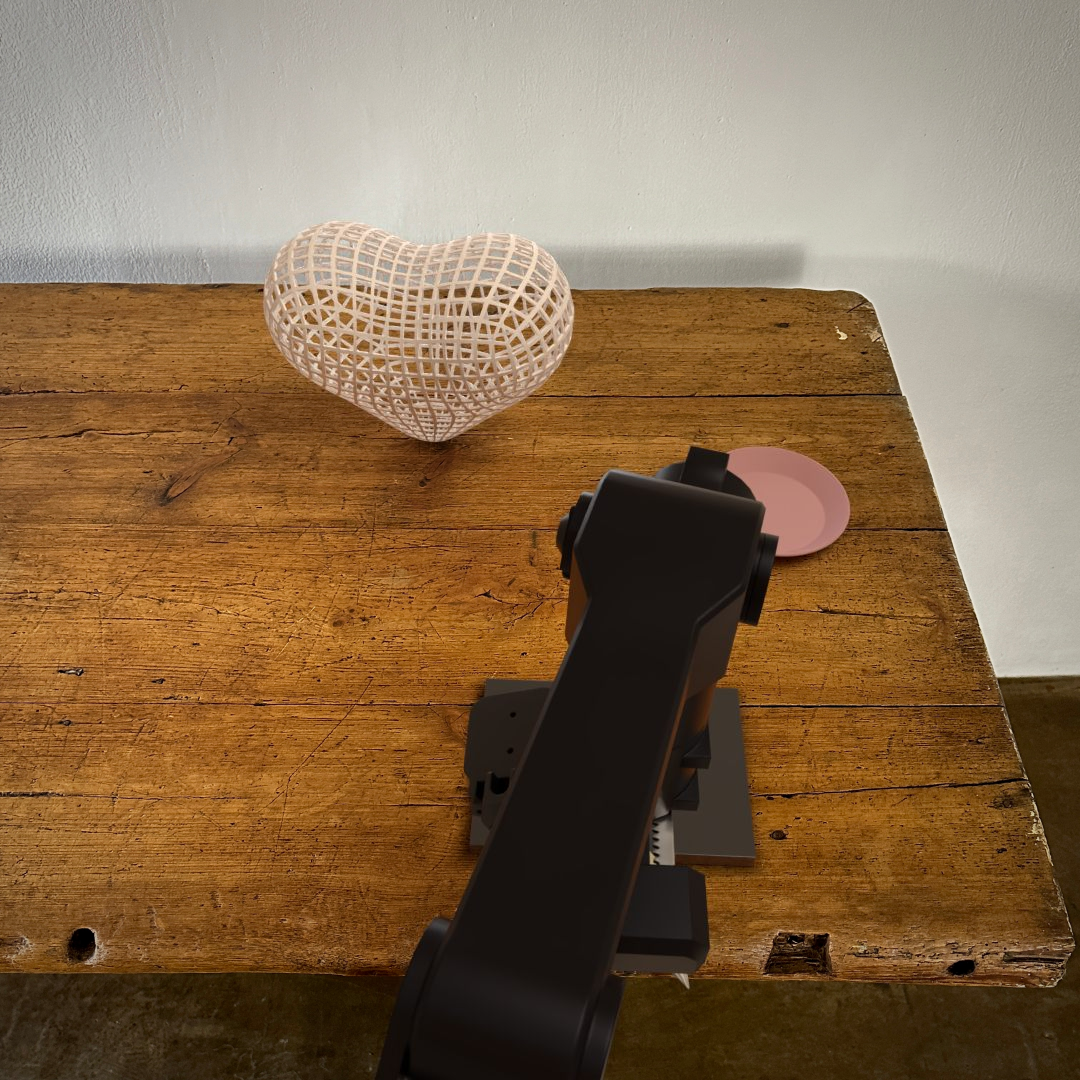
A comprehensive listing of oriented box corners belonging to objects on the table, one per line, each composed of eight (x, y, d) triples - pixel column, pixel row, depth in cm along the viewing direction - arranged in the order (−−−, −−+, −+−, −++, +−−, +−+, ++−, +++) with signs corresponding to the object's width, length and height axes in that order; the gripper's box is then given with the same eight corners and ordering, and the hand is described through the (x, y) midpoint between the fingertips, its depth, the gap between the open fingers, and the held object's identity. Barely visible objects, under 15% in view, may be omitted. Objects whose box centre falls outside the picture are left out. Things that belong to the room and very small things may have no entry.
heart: (275, 476, 95) (221, 278, 79) (321, 377, 105) (281, 184, 89) (559, 505, 92) (564, 307, 76) (577, 401, 103) (585, 207, 86)
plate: (842, 582, 86) (848, 568, 85) (682, 553, 88) (685, 538, 87) (847, 474, 95) (852, 459, 94) (702, 450, 98) (705, 435, 96)
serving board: (752, 867, 68) (756, 857, 67) (470, 854, 69) (469, 844, 68) (735, 698, 78) (737, 688, 77) (486, 688, 78) (485, 678, 77)
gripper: (488, 539, 51) (496, 702, 62) (449, 889, 38) (468, 1012, 50) (702, 547, 50) (670, 710, 62) (733, 903, 38) (686, 1024, 49)
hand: (624, 846), depth 56 cm, fingers open, 9 cm apart
